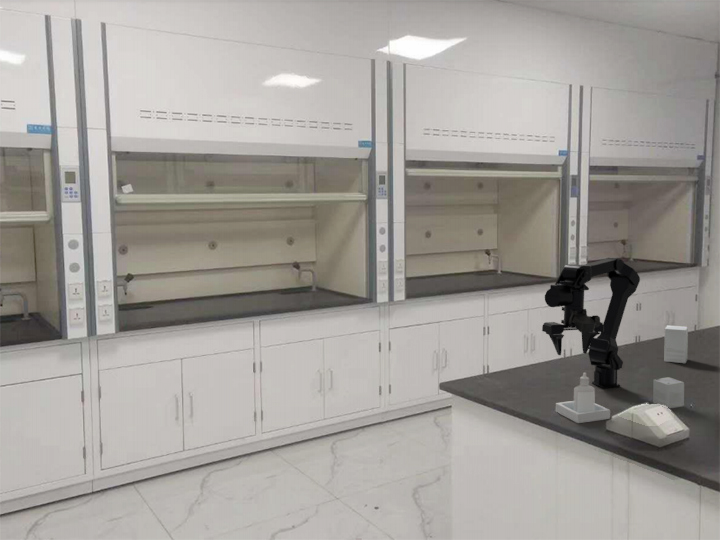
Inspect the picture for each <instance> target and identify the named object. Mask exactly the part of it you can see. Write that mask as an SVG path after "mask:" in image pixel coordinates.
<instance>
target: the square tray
mask: <svg viewBox="0 0 720 540" xmlns="http://www.w3.org/2000/svg"><path fill="white" fill-rule="evenodd" d="M557 412H558V414H560V415H561V416H563V417H565V418H566V419H567V418H568V420H571V421H572V422H574V423H576V424H581V423H582V424H583V423H590V422H596V421H604V420H609V419H611V409H609V408H607V407H604V406H602V405H600V404H598V403H596V402H595V411H589V412H582V413H578V412H576V411H574V400H571V401H570V400H569V401H561V402H555V413H557Z"/></svg>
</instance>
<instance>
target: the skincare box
mask: <svg viewBox="0 0 720 540" xmlns="http://www.w3.org/2000/svg"><path fill="white" fill-rule="evenodd" d="M652 385H653V386H652V387H653V391H652V392H653V393H652V394H653V397H652V399H653V400H652V401H653V402H652V403H653V404H655V403H660V404H664V405H666V406H668V407H669V408H668V409H674V408H683V407H684V406H685V382H683V381H681V380H678V379H675V378H672V377H661V378H654V379H653V383H652Z"/></svg>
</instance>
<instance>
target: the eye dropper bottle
mask: <svg viewBox="0 0 720 540" xmlns="http://www.w3.org/2000/svg"><path fill="white" fill-rule="evenodd" d="M595 400H596V389H595V387H593V386H592V385H590V377H588V376H587V372H583V373H582V375H581V376H580V377H579V384H578V385H576V386H575V387H574V388H573V401H574V411H576V412H578V413H582V412H589V411H595V403H596V401H595Z"/></svg>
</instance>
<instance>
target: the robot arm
mask: <svg viewBox="0 0 720 540" xmlns="http://www.w3.org/2000/svg"><path fill="white" fill-rule="evenodd" d="M604 274H606V277H608V279H609V280H610V284H609V287H610V290H611V293H612V295H611V298H610V301H609V305H608V306H607V307H608V308H607V310H606V314H605V318H604V320H603V322H601V317H600V316H599V315H591V316H590V315H588V314H587V313H588V312H587V309H586V308H585V307H584V306H585V304H584V303H585V291H589V289H590V287H588V285H586V284H587V283H588V282H590V281H591V280H592V278H594V277H597V276H601V275H604ZM640 280H641V277H640V275H639V273H638V272H637V271H636V270H635V269H634V268H633V267H631V266H629V265H628V264H626V263H625V262H624V260H622V259H620V257H619V258H618V257H607V258H604V259H601V260H597V261H594V262H589V263H585V264H573V263H568V264H566V265H564V266H563V269H562V271H561V272H560V274H559V276H558V277H557V280H556V281H555V283H554V284H550V287H549V289H548V290H546V292H545V294H544V301H545V304H546V305H547V306H548V307H550V308H559V307H561V311H563V319H561V323H559V322H555V321H551V322H550V321H549V322H544V323H543V324H542V329H541V331H542V332H543V333H544V332H545V334H547V335H548V336H549V338H550V339H551V341H552V344H553V347H554V349H555V352H556V353H557V355H558V356H561V355H562V343H563V342H562V341H563V338H564V337H565V335H564V334H563V333H564V331H578V332H580V333H581V344H582V345H581V346H582V347H581V348H582V353H583V354H585V355H586V354H587V352H588V358H589V362H590V365H591V366H594V367H595V368H594V371H593V381H591V384H592V385H596V386H598V387H600V388H603V389H607V388H609V389H610V388H616V387H621V384H620V383H618V371H620V369H622V368H623V364H624V361H623V360H622V359H621V357H620V356H619V355H618V353H619V346H618V344H617V336H618V333H619V330H620V327H621V322H622V319H623V317H624V313H625V310H626V307H627V303H628V299H629V298H630V297H631V296H632V295H633V294H635V292H636V291H637V289H638V286H639V284H640ZM596 336H597V337H596Z"/></svg>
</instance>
